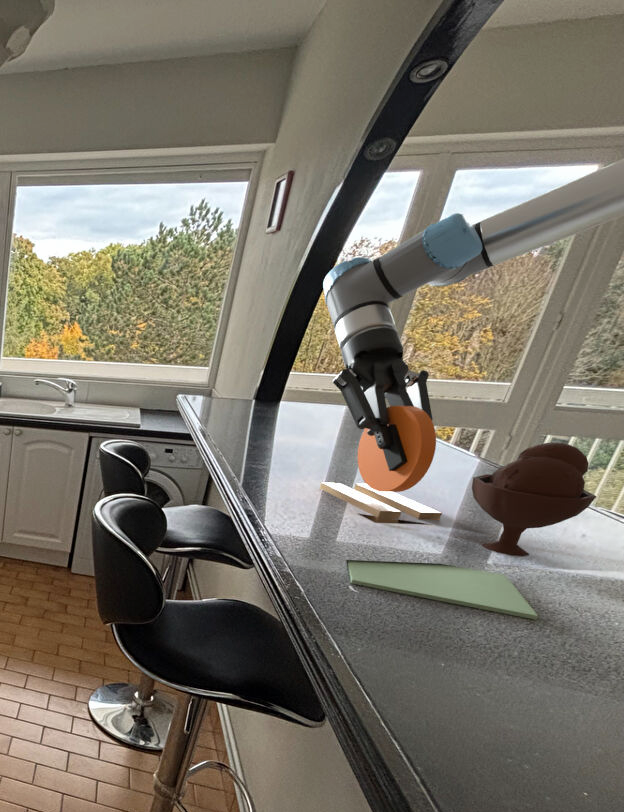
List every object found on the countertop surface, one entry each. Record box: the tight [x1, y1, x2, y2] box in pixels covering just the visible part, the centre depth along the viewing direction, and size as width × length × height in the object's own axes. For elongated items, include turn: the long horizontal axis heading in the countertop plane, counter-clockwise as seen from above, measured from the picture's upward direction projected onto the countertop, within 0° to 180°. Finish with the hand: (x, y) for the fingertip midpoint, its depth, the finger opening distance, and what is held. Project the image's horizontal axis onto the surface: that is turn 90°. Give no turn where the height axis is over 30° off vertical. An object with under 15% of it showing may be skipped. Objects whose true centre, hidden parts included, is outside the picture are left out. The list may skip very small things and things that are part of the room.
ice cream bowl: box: [471, 441, 597, 557], centre depth 75 cm, size 11×11×15 cm
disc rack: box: [319, 482, 443, 526], centre depth 93 cm, size 9×15×3 cm, turn 175°
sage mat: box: [345, 559, 539, 621], centre depth 70 cm, size 16×12×1 cm
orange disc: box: [357, 406, 437, 493], centre depth 90 cm, size 2×13×13 cm, turn 176°
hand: (408, 466), depth 87 cm, fingers closed on orange disc, 2 cm apart
